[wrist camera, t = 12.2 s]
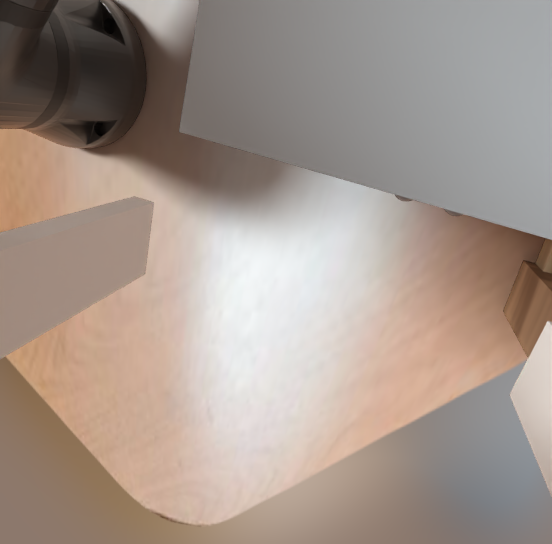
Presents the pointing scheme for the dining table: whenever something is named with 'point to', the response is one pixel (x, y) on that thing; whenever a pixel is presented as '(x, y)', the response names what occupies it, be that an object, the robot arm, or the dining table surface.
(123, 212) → the robot arm
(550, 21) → the cabinet
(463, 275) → the dining table surface
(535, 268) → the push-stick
